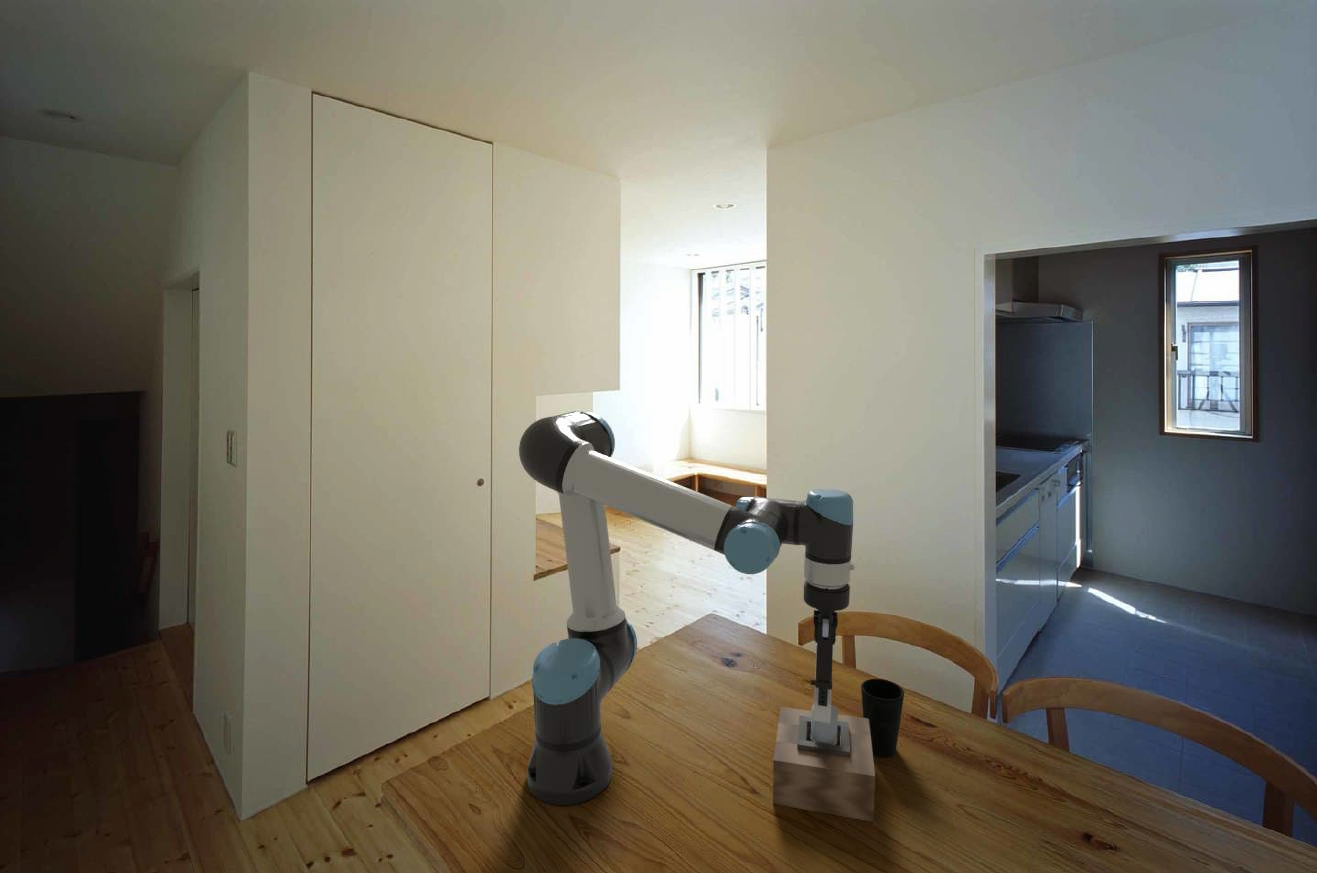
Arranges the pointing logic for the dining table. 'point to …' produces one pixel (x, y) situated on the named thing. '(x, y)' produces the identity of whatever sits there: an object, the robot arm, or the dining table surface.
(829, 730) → the peg
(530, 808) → the dining table surface
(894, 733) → the cup
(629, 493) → the robot arm
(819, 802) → the socket block
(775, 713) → the dining table surface
